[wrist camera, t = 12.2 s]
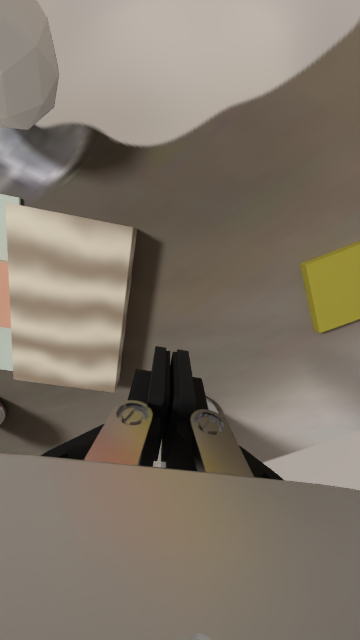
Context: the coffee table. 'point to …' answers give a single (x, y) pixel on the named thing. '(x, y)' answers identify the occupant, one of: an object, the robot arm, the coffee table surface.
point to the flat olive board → (333, 287)
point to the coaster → (4, 295)
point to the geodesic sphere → (25, 64)
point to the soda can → (2, 413)
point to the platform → (68, 297)
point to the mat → (3, 341)
